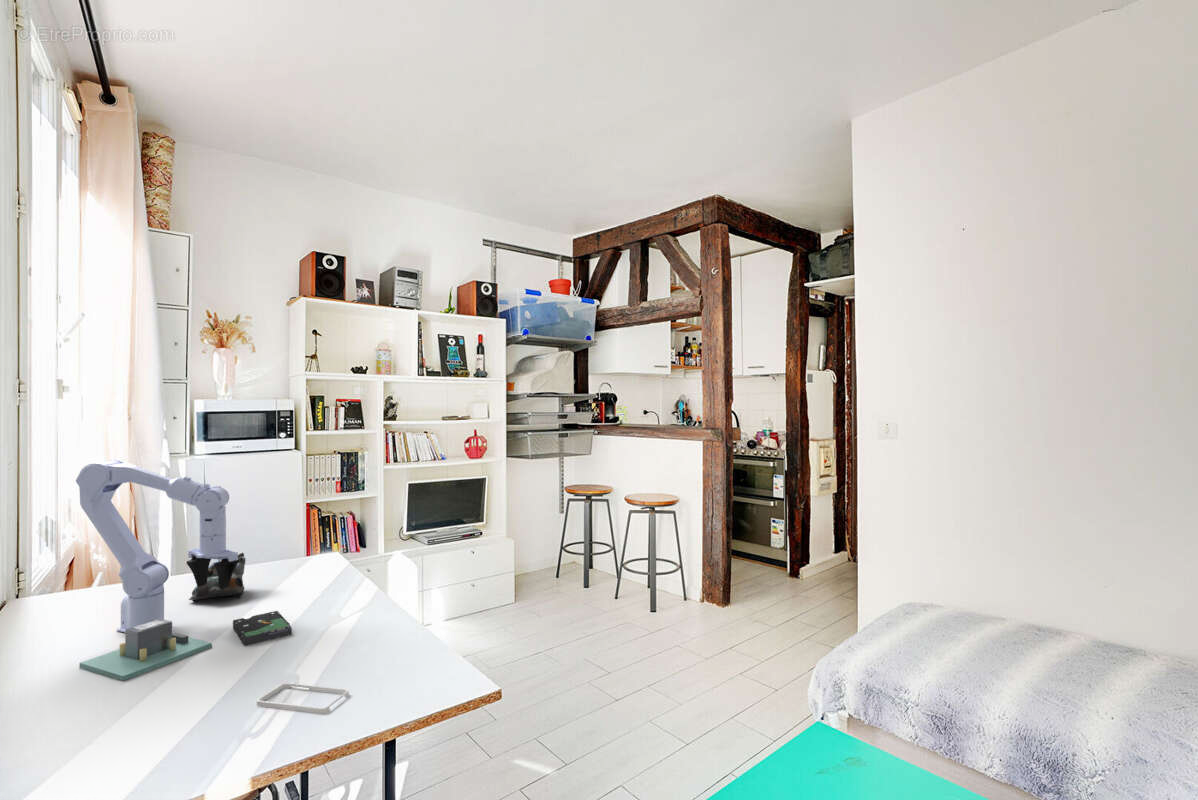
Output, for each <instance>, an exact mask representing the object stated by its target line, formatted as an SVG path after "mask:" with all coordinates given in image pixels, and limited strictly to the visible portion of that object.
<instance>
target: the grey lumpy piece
mask: <svg viewBox="0 0 1198 800" xmlns="http://www.w3.org/2000/svg"><path fill="white" fill-rule="evenodd" d="M238 559H239V563H238V564H237V566H236V567H235V569H234V571H233V574H232V577H231V580H230V584H229V587H227V588H224V589H220V588H219V581H218V573H217V570H216V568H215V566H214V563H217V562H220V561H222V560H218V559H216V560H215V561H213V562H212V563H210V564H209V568H208V578H207V584H206V585H203V586H200V587H197V585H196V586H195V587H194V588H193V590H192V592H191V597H190V598H188V600H189V601H192V602H195V601H199V600H204V599H208V598H215V597H216V598H218V597H227V596H243V595H244V592H245V586H244V581H243V577H244V574H245V565H246V557H245V554H244V552H240V553H238Z"/></svg>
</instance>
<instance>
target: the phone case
mask: <svg viewBox="0 0 1198 800" xmlns="http://www.w3.org/2000/svg"><path fill="white" fill-rule="evenodd" d="M293 687H294V688H295V687H296V688H303V689H304V688H305V689H308V691H311V692H321V693H329V694H330V693H331V694H336V695H337V694H339V695H340V696H338V697H337V698H336V699H334V700H333V701H331V703H329V704H328V705H327V706H325V707H318V706H310V705H302V704H293V703H285V702H276V701H266V700H267V699H269V698H270V697H272V696H274V695H276V693H278V692H280V691H281V690H283V689H291V688H293ZM349 692H350V691H349V690H348V689H343V688H337V687H336V688H335V687H334V688H333V687H326V686H324V687H323V686H318V685H317V686H316V685H309V684H308V685H307V684H296V683H290V682H289V683H287V682H285V683H281V684H279V685H277V687H275V688H273V689H272V690H271V691H269V692H267V693H265V694H264V695H262V696H260V698H258V699H257V700H256V706H258V707H263V708H264V707H265V708H273V709H282V710H290V711H298V712H307V713H314V714H315V713H316V714H326V713H327V712H329V711H330V707H332V706H333V705H334V704H336V703H337V702H338V701H340V700H341V699H342V698H347V697H349V694H350V693H349Z"/></svg>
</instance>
